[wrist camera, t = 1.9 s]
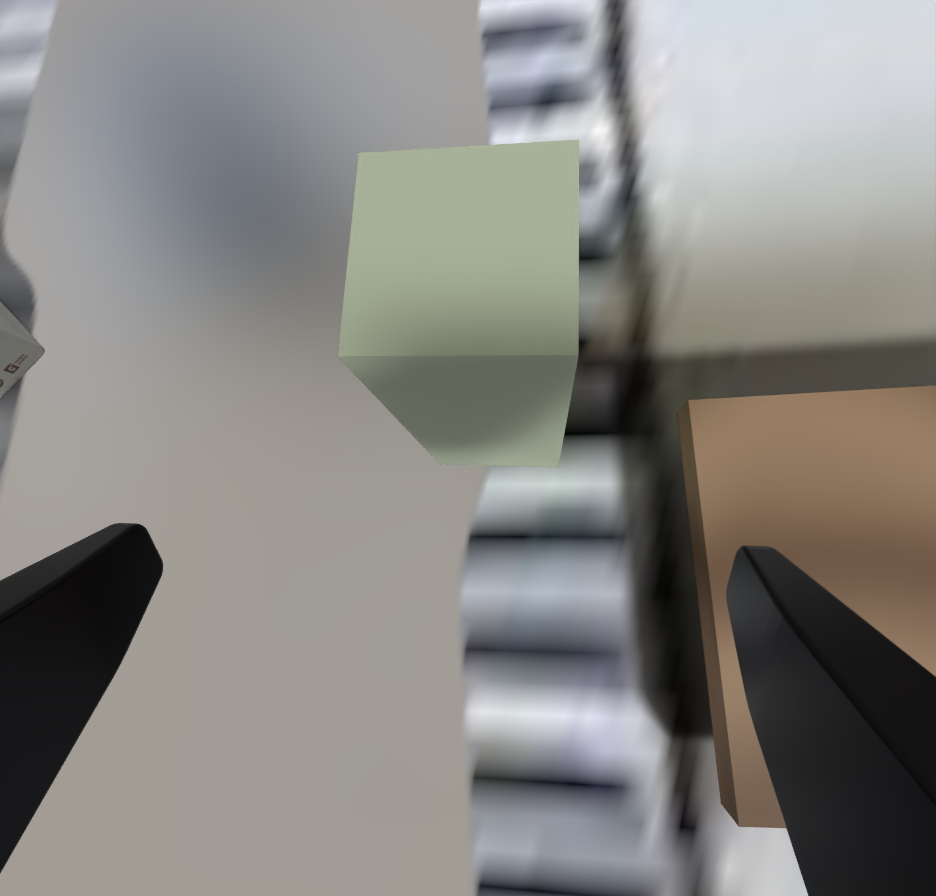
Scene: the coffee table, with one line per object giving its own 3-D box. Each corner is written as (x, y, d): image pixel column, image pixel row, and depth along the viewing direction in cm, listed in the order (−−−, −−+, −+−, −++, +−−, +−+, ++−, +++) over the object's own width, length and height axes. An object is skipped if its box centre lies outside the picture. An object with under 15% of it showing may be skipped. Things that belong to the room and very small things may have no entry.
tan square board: (1129, 793, 16) (1260, 842, 13) (706, 784, 18) (738, 826, 15) (1027, 404, 19) (1117, 374, 16) (667, 424, 20) (688, 400, 17)
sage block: (558, 466, 20) (578, 354, 10) (440, 464, 21) (337, 356, 10) (559, 354, 21) (578, 139, 11) (446, 354, 22) (358, 152, 11)
